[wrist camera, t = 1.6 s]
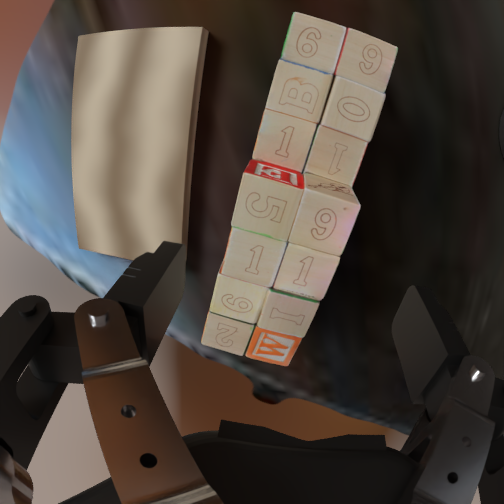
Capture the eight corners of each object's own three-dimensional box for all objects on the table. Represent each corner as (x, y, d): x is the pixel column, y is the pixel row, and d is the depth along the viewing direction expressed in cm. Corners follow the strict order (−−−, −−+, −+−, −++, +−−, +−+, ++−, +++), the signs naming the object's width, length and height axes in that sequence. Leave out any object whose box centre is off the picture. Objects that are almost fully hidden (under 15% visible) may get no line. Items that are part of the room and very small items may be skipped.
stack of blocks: (293, 37, 21) (294, -8, 10) (367, 62, 21) (422, 40, 11) (230, 258, 32) (198, 346, 21) (291, 276, 32) (287, 370, 21)
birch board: (208, 31, 21) (202, 27, 20) (186, 260, 32) (180, 270, 30) (90, 37, 22) (78, 35, 20) (88, 240, 33) (78, 248, 31)
